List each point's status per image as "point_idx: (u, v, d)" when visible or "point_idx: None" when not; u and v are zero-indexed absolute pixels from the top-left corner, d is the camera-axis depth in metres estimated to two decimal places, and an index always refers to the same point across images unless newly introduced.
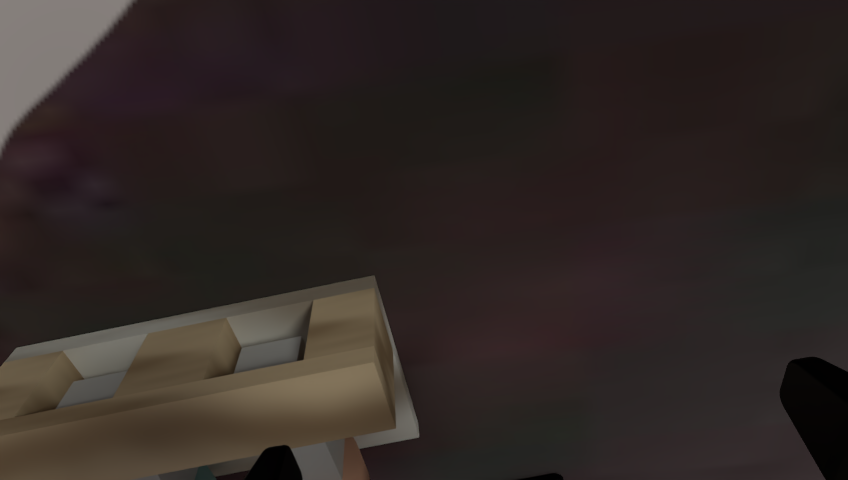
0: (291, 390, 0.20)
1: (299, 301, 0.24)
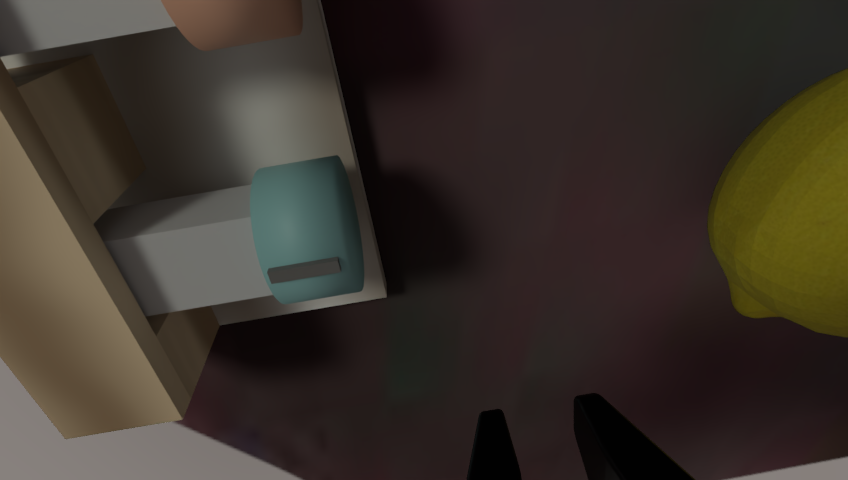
0: None
1: None
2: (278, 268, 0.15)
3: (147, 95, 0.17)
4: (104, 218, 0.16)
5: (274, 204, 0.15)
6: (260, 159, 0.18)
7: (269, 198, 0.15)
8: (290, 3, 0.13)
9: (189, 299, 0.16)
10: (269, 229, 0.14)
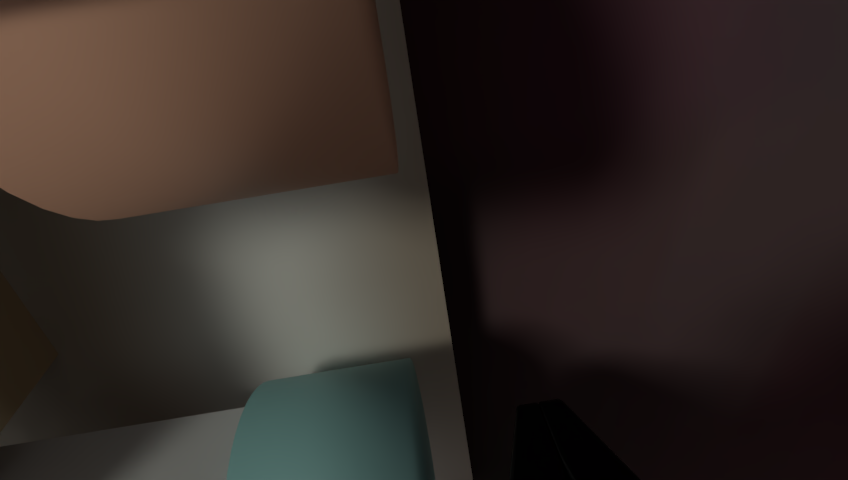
0: None
1: None
2: None
3: (49, 234, 0.08)
4: None
5: None
6: (276, 335, 0.09)
7: None
8: (383, 85, 0.04)
9: None
10: None
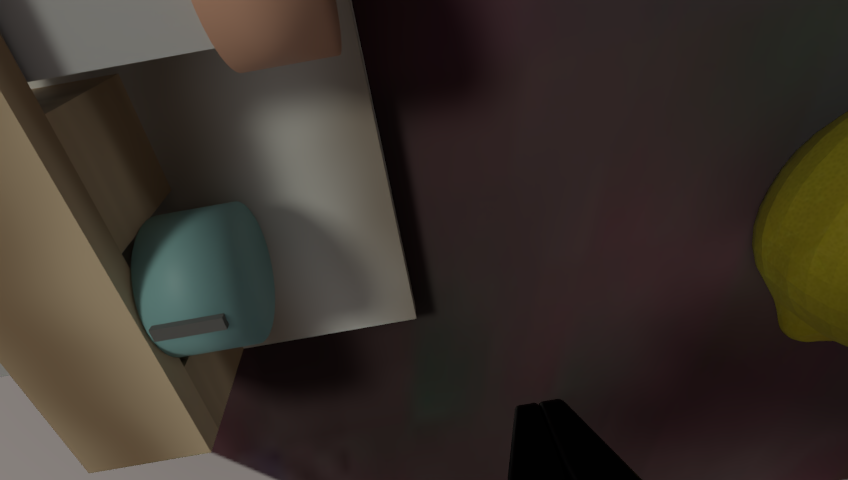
0: None
1: None
2: (161, 326, 0.14)
3: (174, 115, 0.16)
4: None
5: (156, 259, 0.14)
6: (290, 179, 0.17)
7: (151, 252, 0.14)
8: (332, 22, 0.12)
9: None
10: (150, 285, 0.14)
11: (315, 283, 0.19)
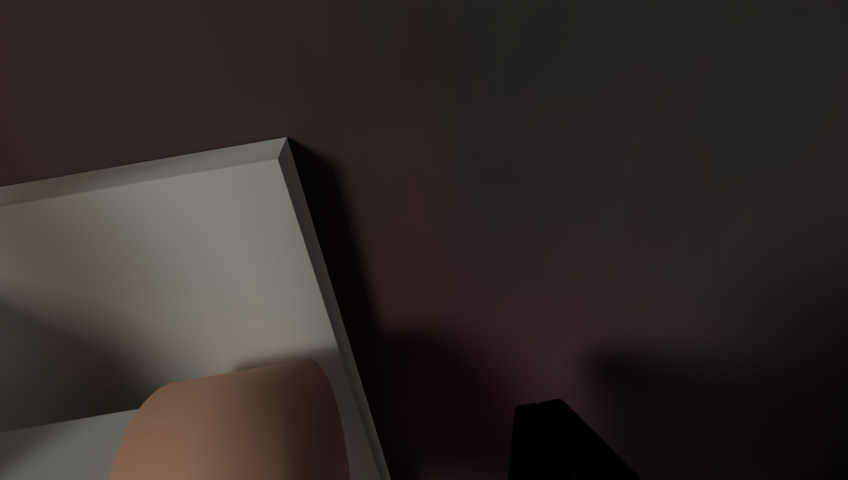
0: None
1: None
2: None
3: None
4: None
5: None
6: None
7: None
8: None
9: None
10: None
11: None
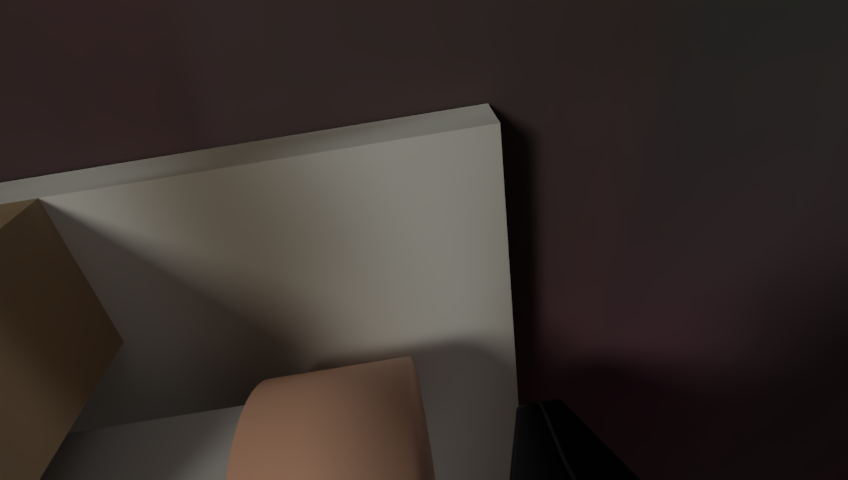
0: None
1: None
2: None
3: None
4: None
5: None
6: None
7: None
8: None
9: None
10: None
11: None
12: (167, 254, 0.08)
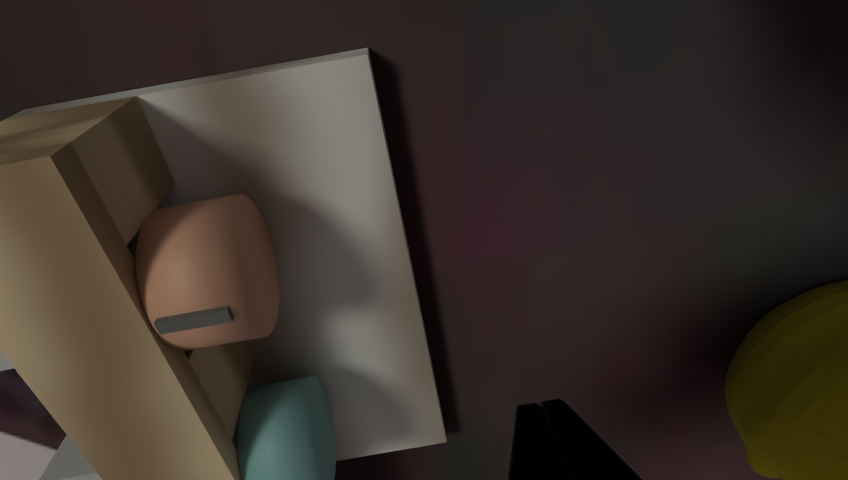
0: None
1: None
2: None
3: None
4: None
5: (257, 442, 0.18)
6: (349, 350, 0.21)
7: (253, 436, 0.18)
8: (267, 307, 0.16)
9: None
10: (253, 464, 0.18)
11: (365, 419, 0.23)
12: (200, 128, 0.16)
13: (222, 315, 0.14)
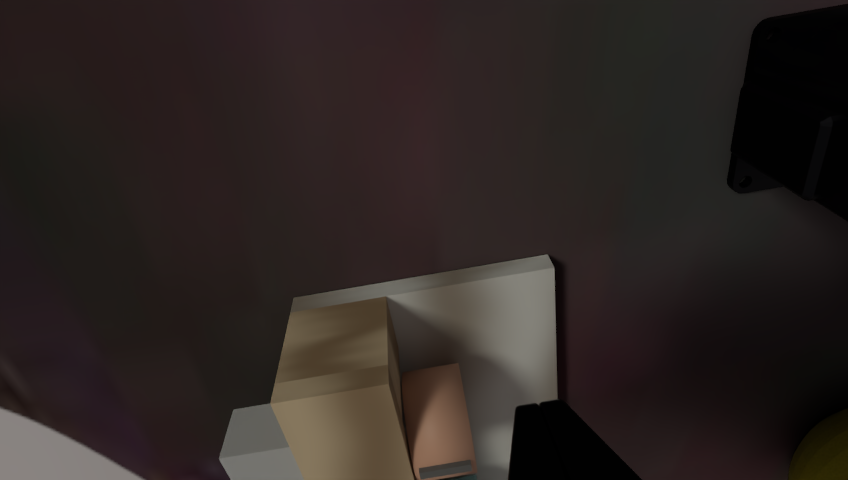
0: (315, 465, 0.19)
1: None
2: None
3: None
4: None
5: None
6: (499, 452, 0.27)
7: None
8: None
9: None
10: None
11: None
12: (425, 314, 0.22)
13: (466, 467, 0.20)
